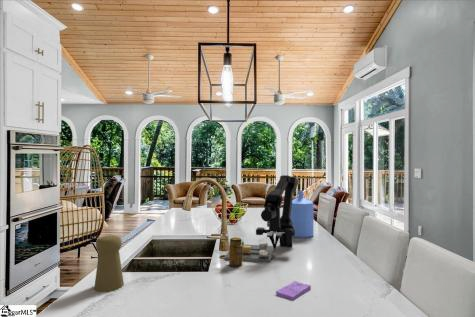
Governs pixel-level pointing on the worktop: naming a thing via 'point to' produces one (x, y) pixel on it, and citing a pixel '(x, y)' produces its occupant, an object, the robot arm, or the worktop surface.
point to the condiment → (235, 254)
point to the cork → (108, 264)
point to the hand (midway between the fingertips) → (274, 248)
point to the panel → (255, 254)
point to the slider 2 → (263, 246)
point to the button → (263, 253)
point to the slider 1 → (246, 249)
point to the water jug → (302, 216)
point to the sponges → (293, 290)
